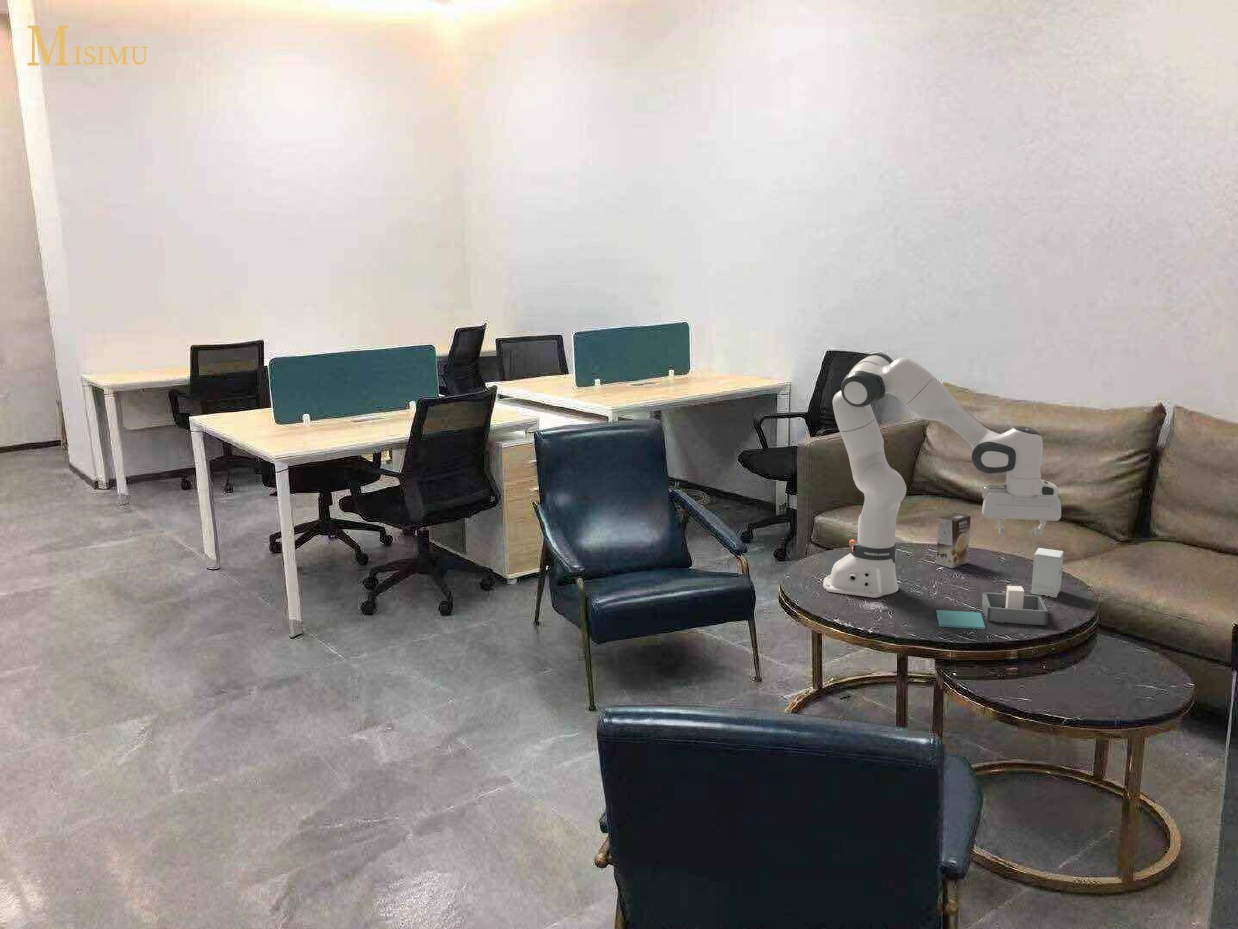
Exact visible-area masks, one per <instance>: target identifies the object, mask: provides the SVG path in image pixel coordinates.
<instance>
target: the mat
mask: <svg viewBox="0 0 1238 929" xmlns="http://www.w3.org/2000/svg"><path fill="white" fill-rule="evenodd" d="M935 612H936V617H937V618H936V619H937V623H938V627H943V628H945V627H946V628H958V629H959V628H961V629H971V628H972V629H973V630H974V629H975V630H986V625H985V622H984V619H983V616H982V613H981V612H976V611H975V612H973V611H972V612H971V611H958V610H943V609H942V610H941V609H936V611H935Z"/></svg>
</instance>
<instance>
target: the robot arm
mask: <svg viewBox="0 0 1238 929" xmlns="http://www.w3.org/2000/svg"><path fill="white" fill-rule="evenodd" d="M888 394H889V395H892V396H895V398H897V399H898V400H899V401H900V402H901V403H902V404H904V406H906V407H907V408H908V409H909V410H910V411H911V412H912V413H914V414H916V415H917V416H919V417H920V418H921V419H923V420H925V421H926V420H927V421H937V422H940V423H943V424H944V425H947V426H948V427H950V428H951V429H952V430H953V431H954V432H955V433H957V434H958V435H959V436H960V437H961V438H962V439H964V440H965V441H966V442H967V443H968V444H969V445H970V447H971V450H972V452H971V462H972V464H973V466H974V467H975V469H977V470H978V471H980V472H981V473H983V474H1002V473H1006V475H1005V476H1006V477H1005V484H988V485H987V486H984V487H983V489H982V493H981V497H982V500H983V502H982V506H981V514H982V516H984V518H986V519H994V521H995V523H996V525H997V527H998V535H999V534H1001V535H1002V534H1003V535H1005V533H1006V532H1005V530H1006V527H1005V525H1004V526H1003V525H1001V522H1002V520H1003V519H1005V520H1006V519H1007V520H1027V521H1029V520H1030V521H1039V523H1040V524H1039V525H1038V526H1037V527H1034V535H1035V536H1042V530H1043V529H1044V528H1045V527H1046V526H1047V521H1051V522H1052V521H1053V522H1054V521H1055V522H1058V521H1059V520H1060V519H1061V518H1062V503H1061V500H1060V497H1059V496H1058V495H1059V489H1058V487H1057V485H1056V484H1055V483H1054V482H1050V481H1047V480H1044V479H1042V472H1041V465H1042V462H1043V453H1044V452H1043V451H1044V450H1043V449H1044V444H1043V443H1044V442H1043V436H1042V435H1041V434H1040V432H1039V431H1037V430H1036V429H1034V428H1030V427H1027V426H1021V425H1019V426H1013V427H1012V428H1011V429H1009V430H1007V431H1005V432H1001V431H999V430H996V429H993V428H989V427H987V426H985V425H984V424H983V423H981V422H980V421H979V420H978V419H977V418H975V417H974V416H973V415H972V414H971V413H970V412H968V411H967V410H966V409H965V408H964V407H962V406H961V404H959V402H958V401H957V399H955V397H954V396H953V395H952V394H951V393H950V391H949V390H948V389H947V388H946V386H944V384H943V383H942V382H941V381H940V380H939V379H938V378H936V376H934V375H933V374H932V373H931V372H930V371H928V369H926V368H925V367H923V366H921V364H919V363H917V362H916V361H914V360H912V359H911V358H909V357H904V356H903V357H899V358H897V359H895V360H893V359H892V358H891V356H889V355H888V354H886V353H882V352H874V353H870V354H868V355H866V356H864V357H863V359H862V360H860V361H859V362H857V363H856V364H854V366H853V367H852V368H851V370H850V371H849V373H848V374H846V376H844V377H843V380H842V382H841V386H840V390H839V391H838V392H836V393H835V394H834V396H833V398H832V409H833V413H834V418H835V422H836V424H837V425H836V426H837V428H838V430H839V433H840V436H841V438H842V441H843V444H844V447H845V450H846V452H847V456H848V460H849V464H850V469H851V474H852V479H853V481H854V484H855V486H856V488H857V489H858V490H859V491H860V492H862V493H863V496H864V501H863V506H862V510H861V513H860V514H859V516H858V521H857V522H858V523H857V540H855V539H853V538H852V539H850V540H849V543H848V544H849V547H850V549H849V551H850V553H848V554H846V555H845V556H843V557H842V558H840V559H838V560H837V561H835V563H834V564H833V567H832V568H831V572H830V574H828V575H827V576H826V577H824V578H823V583H822V586H823V588H824V590H825V589H826V590H825V591H827V592H830V593H835V594H837V593H838V594H844V595H852V596H859V597H865V598H866V597H867V598H875V599H876V598H880V597H882V596H886V595H892V594H894V593H896V592H897V591H899V588H900V587H899V585H898V581H897V574H896V560H897V552H898V551H897V543H896V531H897V530H896V526H897V517H898V514H899V509H900V506H901V502H902V501H903V500H904V499H905V497H906V494H907V485H906V482H905V480H904V478H903V477H902V475H901V473H899V472H898V471H897V470H896V469H894V468H892V467H891V466H890V464H889V462H888V461H887V458H886V453H885V447H884V444H885V441H884V438H883V434H882V433H881V432H882V431H881V430H880V426H879V423H878V421H877V419H876V415H875V414H874V410H873V408H872V404H873V403H876V402H877V401H879V400H882V399H883V398H884V397H885V395H888Z"/></svg>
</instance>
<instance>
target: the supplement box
mask: <svg viewBox="0 0 1238 929" xmlns="http://www.w3.org/2000/svg"><path fill="white" fill-rule="evenodd" d="M1064 552H1065V551H1063V550H1058V549H1050V548H1049V549H1048V548H1041V547H1037V549H1036V551H1035V553H1034V555H1033V556H1034V557H1033V564H1032V566H1033V568H1032V578H1031V580H1032V581H1031V582H1032V583H1031V591H1030V593H1031V594H1030V595H1037V596H1042V595H1045V596H1044V597H1048V596H1050V598H1055V599H1056V598H1057V597H1058V595H1059V593H1060V592H1061V586H1062V578H1063V577H1062V576H1063V563H1064Z"/></svg>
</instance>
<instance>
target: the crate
mask: <svg viewBox="0 0 1238 929" xmlns="http://www.w3.org/2000/svg"><path fill="white" fill-rule="evenodd" d="M1041 596H1042V595H1036V594H1024V600H1023V609H1014V608H1002V607H1005V605H1006V593H1002V592H1000V593H999V592H982V596H981V598H982V599H981V607H982V610H983V614H984V613H985V614H984V616H986V617H985V619H987V620H986V622H989V621H995V622H994V623H1004V622H1008V623H1009V624H1023V625H1037V626H1047V625H1048V618H1049V616H1048V615H1049V611H1048V609H1047V607H1046V605H1045V603H1044V600H1043V599H1042V597H1041ZM1034 609H1035V610H1034Z"/></svg>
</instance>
